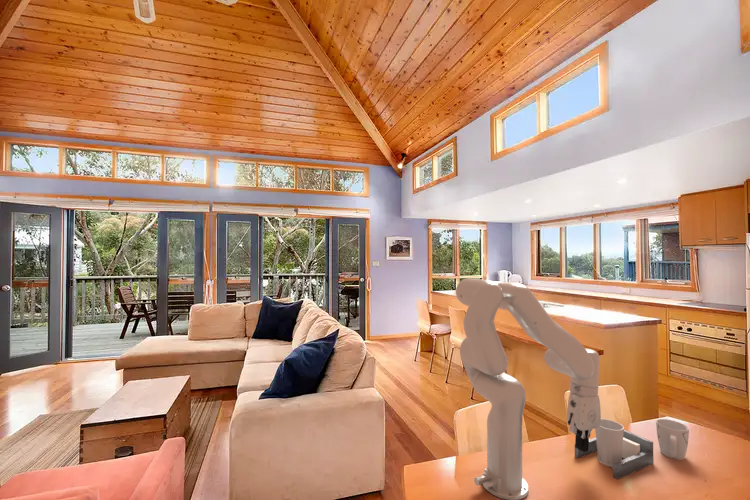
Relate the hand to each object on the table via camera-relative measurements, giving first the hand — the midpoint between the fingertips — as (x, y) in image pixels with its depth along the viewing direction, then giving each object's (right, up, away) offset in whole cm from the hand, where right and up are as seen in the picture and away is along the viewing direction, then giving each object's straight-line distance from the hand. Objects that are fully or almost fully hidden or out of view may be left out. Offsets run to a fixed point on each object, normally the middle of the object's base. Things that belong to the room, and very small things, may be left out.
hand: (581, 449), depth 108 cm
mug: (+35, -8, +9) cm, 37 cm away
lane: (+13, -7, +6) cm, 16 cm away
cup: (+12, -7, +5) cm, 15 cm away
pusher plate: (+18, -7, +8) cm, 21 cm away
